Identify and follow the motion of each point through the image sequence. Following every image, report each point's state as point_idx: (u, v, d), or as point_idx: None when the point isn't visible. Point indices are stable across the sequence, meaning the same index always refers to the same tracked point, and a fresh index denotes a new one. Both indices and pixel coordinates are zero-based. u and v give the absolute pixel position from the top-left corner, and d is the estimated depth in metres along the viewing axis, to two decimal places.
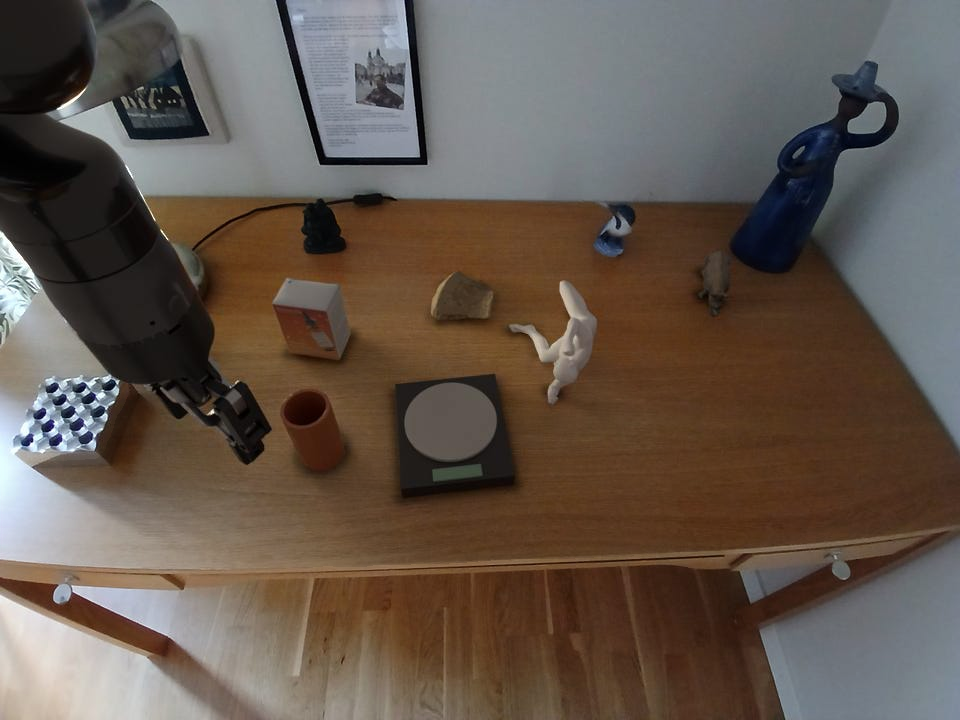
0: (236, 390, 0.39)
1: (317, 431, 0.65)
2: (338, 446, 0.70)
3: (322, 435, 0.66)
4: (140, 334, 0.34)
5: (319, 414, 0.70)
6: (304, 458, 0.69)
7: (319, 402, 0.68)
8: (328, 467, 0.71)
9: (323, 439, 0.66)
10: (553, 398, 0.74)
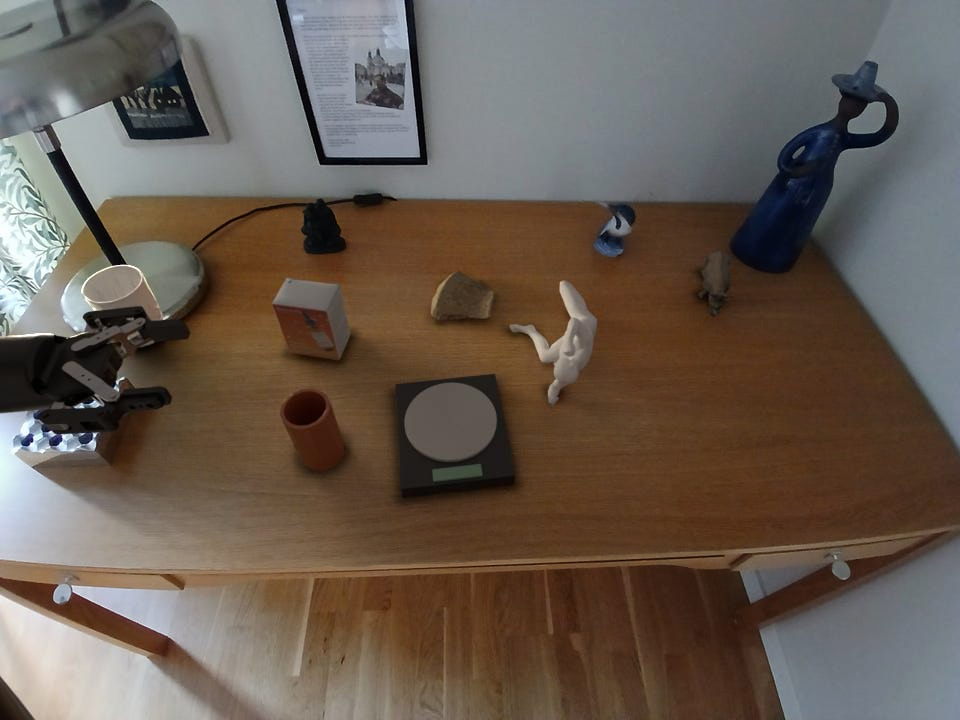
0: None
1: (317, 431, 0.65)
2: (338, 446, 0.70)
3: (322, 435, 0.66)
4: None
5: (319, 414, 0.70)
6: (304, 458, 0.69)
7: (319, 402, 0.68)
8: (328, 467, 0.71)
9: (323, 439, 0.66)
10: (553, 398, 0.74)
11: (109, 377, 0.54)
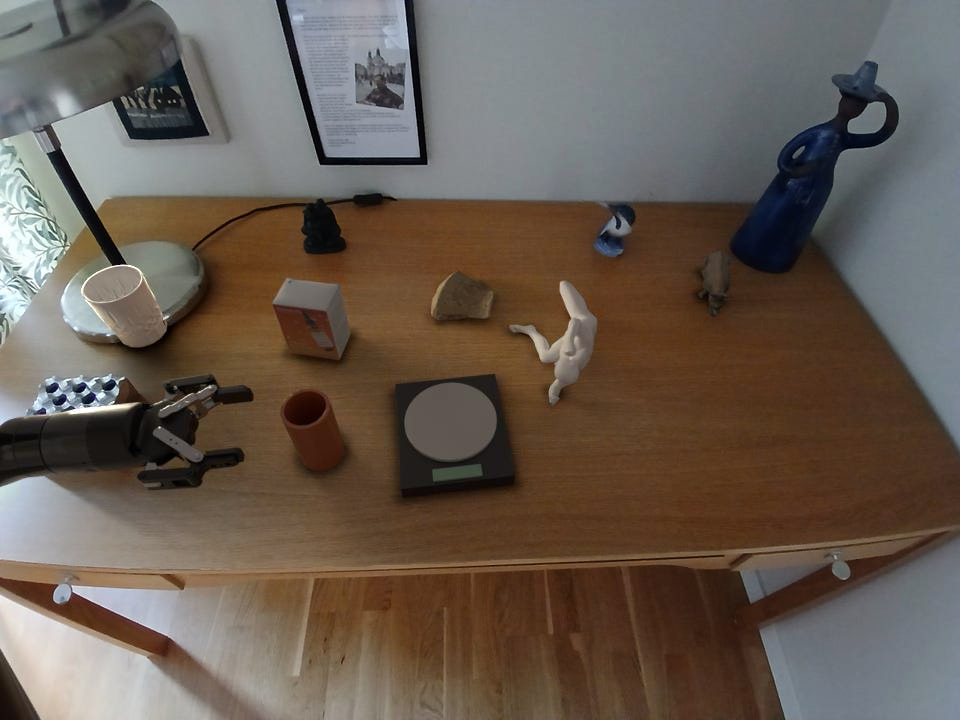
0: None
1: (317, 431, 0.65)
2: (338, 446, 0.70)
3: (322, 435, 0.66)
4: None
5: (319, 414, 0.70)
6: (304, 458, 0.69)
7: (319, 402, 0.68)
8: (328, 467, 0.71)
9: (323, 439, 0.66)
10: (554, 398, 0.74)
11: (190, 439, 0.64)
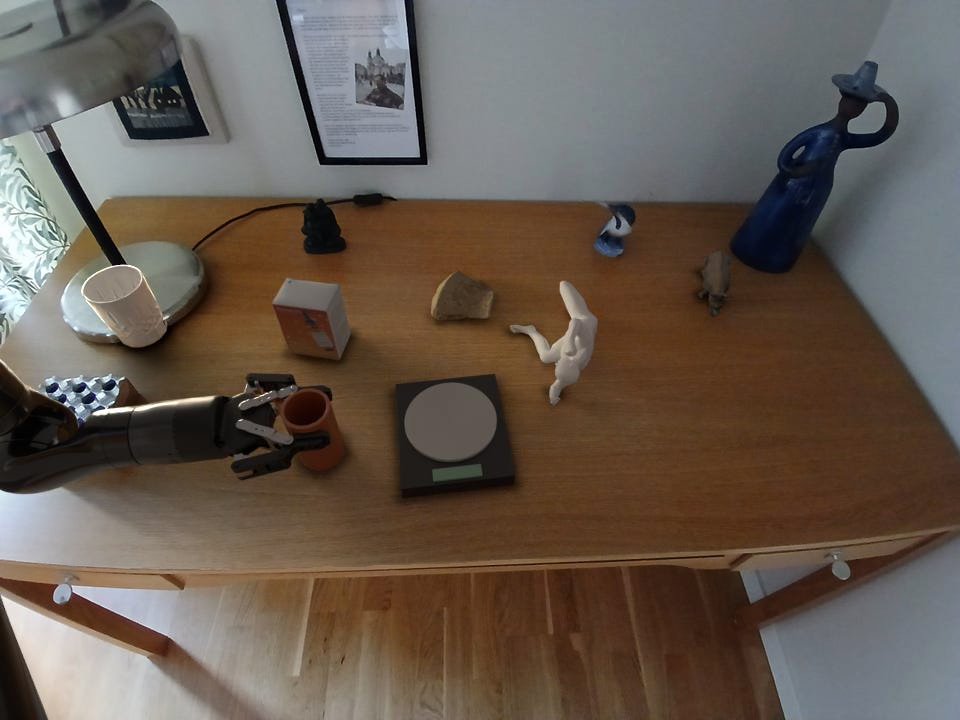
0: None
1: None
2: (338, 446, 0.70)
3: None
4: None
5: (319, 414, 0.70)
6: (304, 458, 0.69)
7: (319, 402, 0.68)
8: (328, 467, 0.71)
9: None
10: (555, 398, 0.74)
11: None
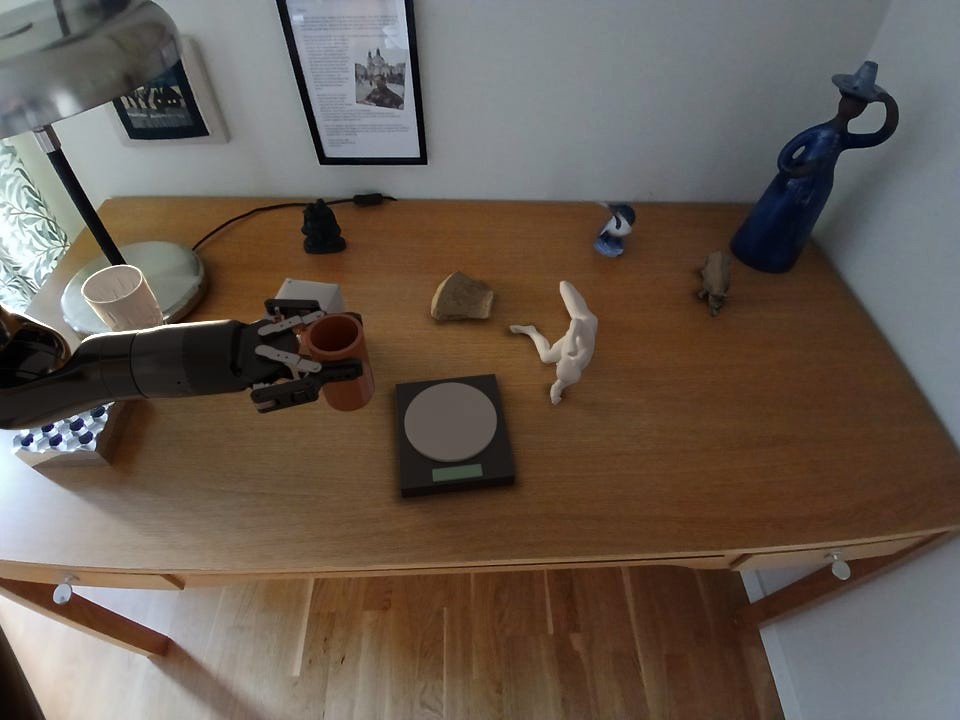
0: None
1: None
2: (369, 383, 0.62)
3: None
4: None
5: (347, 347, 0.62)
6: (331, 395, 0.60)
7: (348, 330, 0.60)
8: (357, 407, 0.62)
9: None
10: (556, 399, 0.74)
11: None
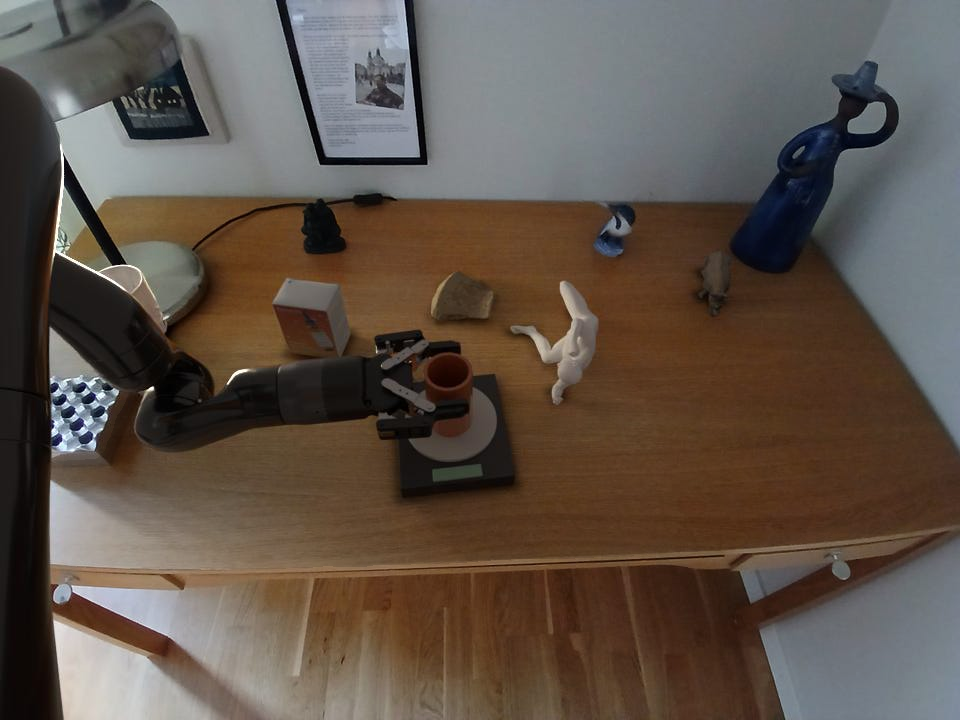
0: None
1: (461, 394, 0.64)
2: (471, 412, 0.70)
3: None
4: None
5: (451, 380, 0.70)
6: (439, 423, 0.69)
7: (455, 367, 0.68)
8: (459, 433, 0.71)
9: None
10: (558, 399, 0.74)
11: None
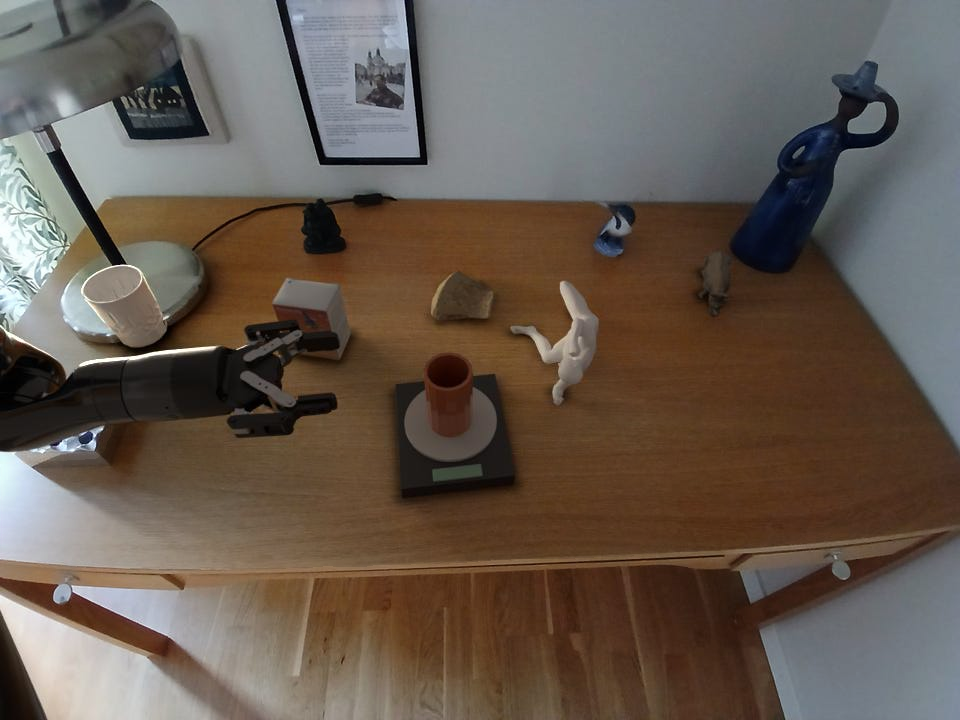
0: None
1: (461, 394, 0.64)
2: (471, 412, 0.70)
3: (464, 398, 0.65)
4: None
5: (451, 380, 0.70)
6: (439, 423, 0.69)
7: (455, 367, 0.68)
8: (459, 433, 0.71)
9: (463, 403, 0.66)
10: (559, 399, 0.74)
11: (278, 385, 0.59)
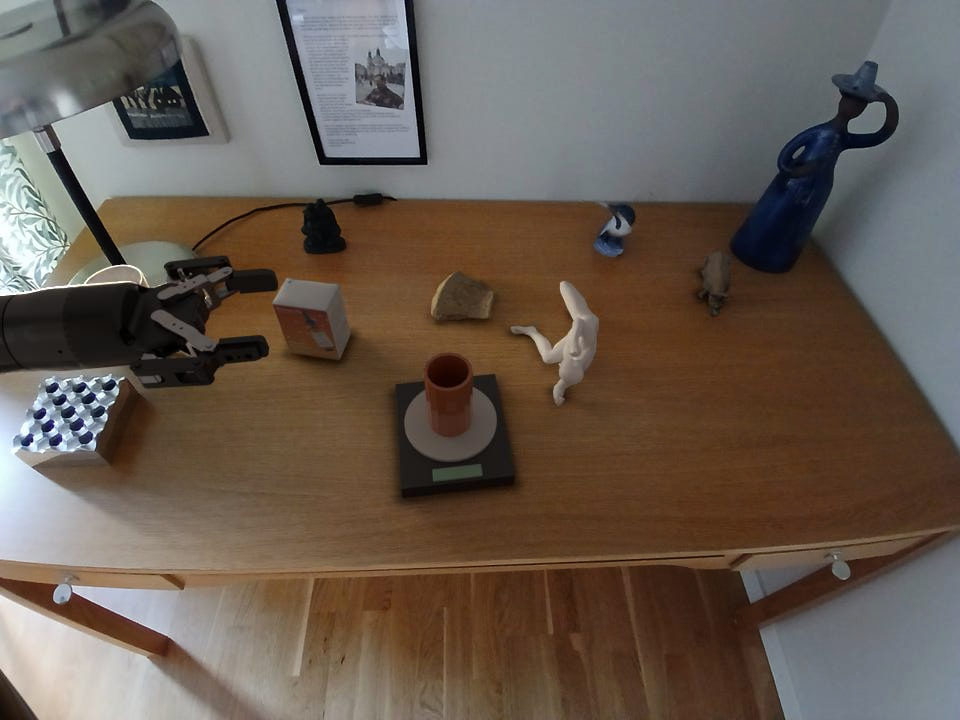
0: None
1: (461, 394, 0.64)
2: (471, 412, 0.70)
3: (464, 398, 0.65)
4: None
5: (451, 380, 0.70)
6: (439, 423, 0.69)
7: (455, 367, 0.68)
8: (459, 433, 0.71)
9: (463, 403, 0.66)
10: (560, 399, 0.74)
11: (199, 328, 0.50)
